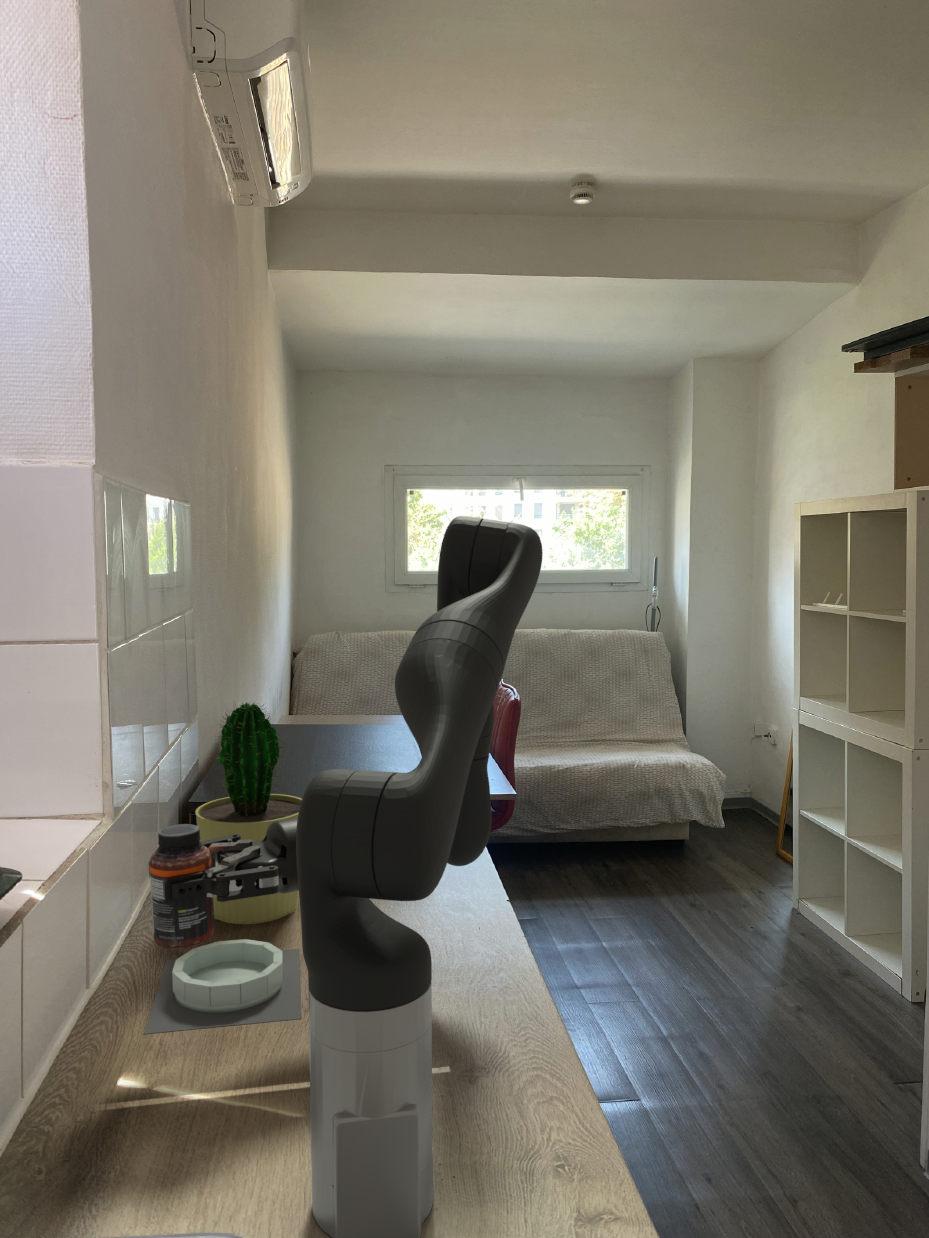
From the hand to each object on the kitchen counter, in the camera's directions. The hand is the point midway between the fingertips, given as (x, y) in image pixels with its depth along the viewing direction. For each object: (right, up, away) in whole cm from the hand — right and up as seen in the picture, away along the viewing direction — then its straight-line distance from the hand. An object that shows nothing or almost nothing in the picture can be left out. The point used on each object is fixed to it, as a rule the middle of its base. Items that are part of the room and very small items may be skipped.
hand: (157, 880), depth 91 cm
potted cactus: (+1, -15, +38) cm, 41 cm away
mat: (+3, -17, +14) cm, 22 cm away
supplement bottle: (+2, -7, +2) cm, 7 cm away
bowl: (+3, -16, +14) cm, 22 cm away
